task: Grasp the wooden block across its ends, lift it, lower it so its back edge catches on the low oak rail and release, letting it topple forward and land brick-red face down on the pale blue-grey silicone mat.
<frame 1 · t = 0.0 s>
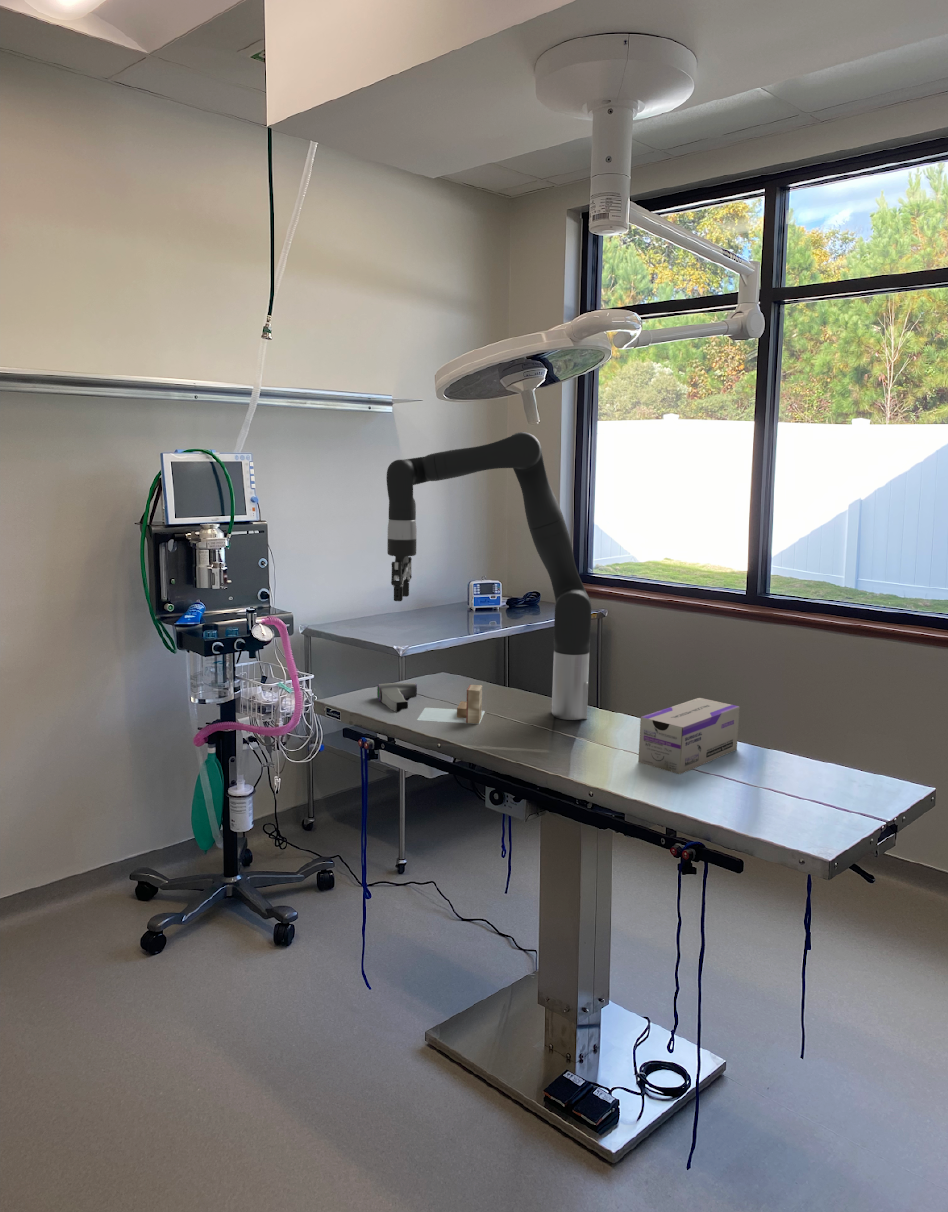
hand: (401, 598, 244), 29 cm above the table, fingers open, 8 cm apart
silicone mat: (451, 717, 239), on the table
surgical sutures box: (688, 757, 213), on the table
wooden block: (473, 720, 235), point 1 cm above the table, touching silicone mat
infrared thermometer: (404, 704, 253), on the table
rail: (463, 716, 241), resting on silicone mat
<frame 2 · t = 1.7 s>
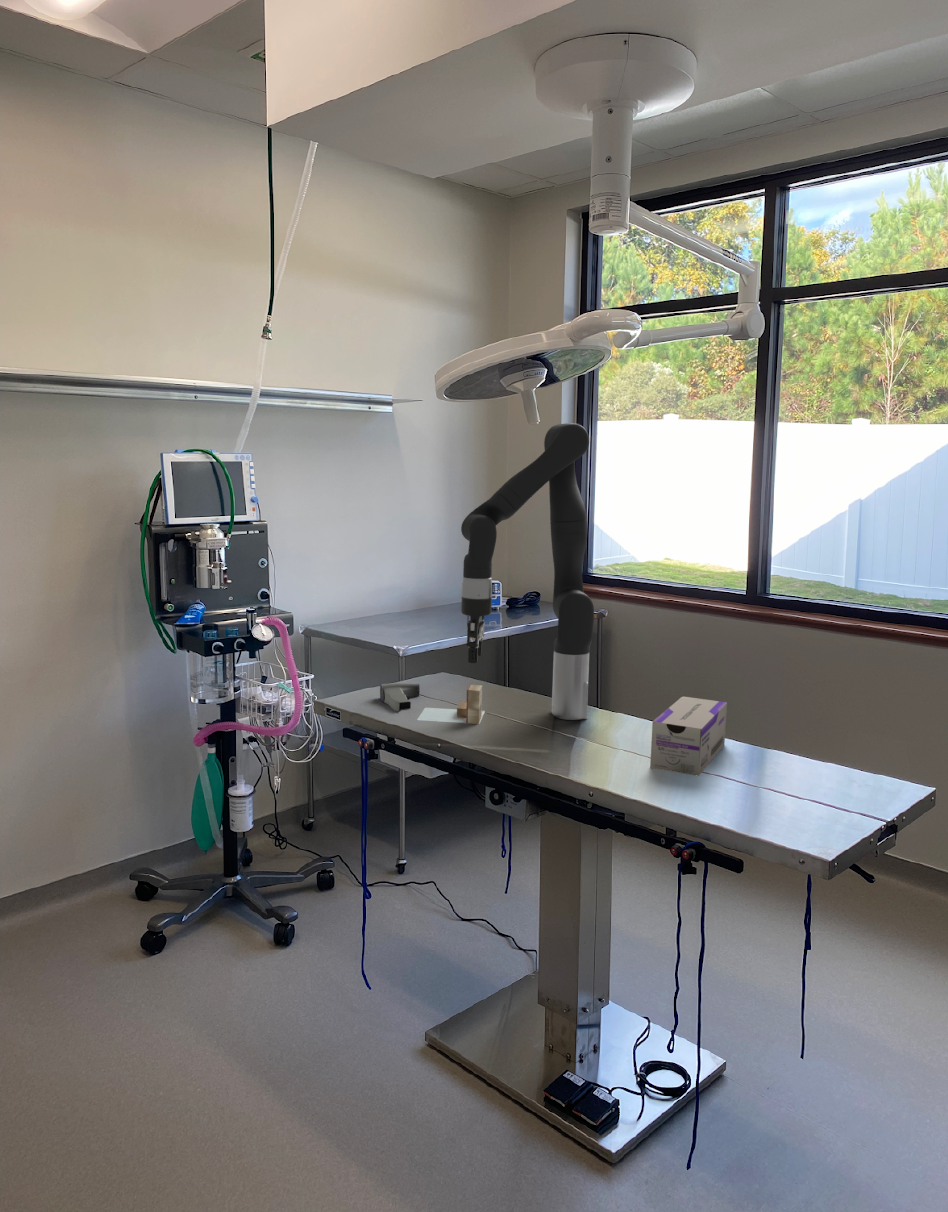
hand: (475, 659, 233), 16 cm above the table, fingers open, 8 cm apart
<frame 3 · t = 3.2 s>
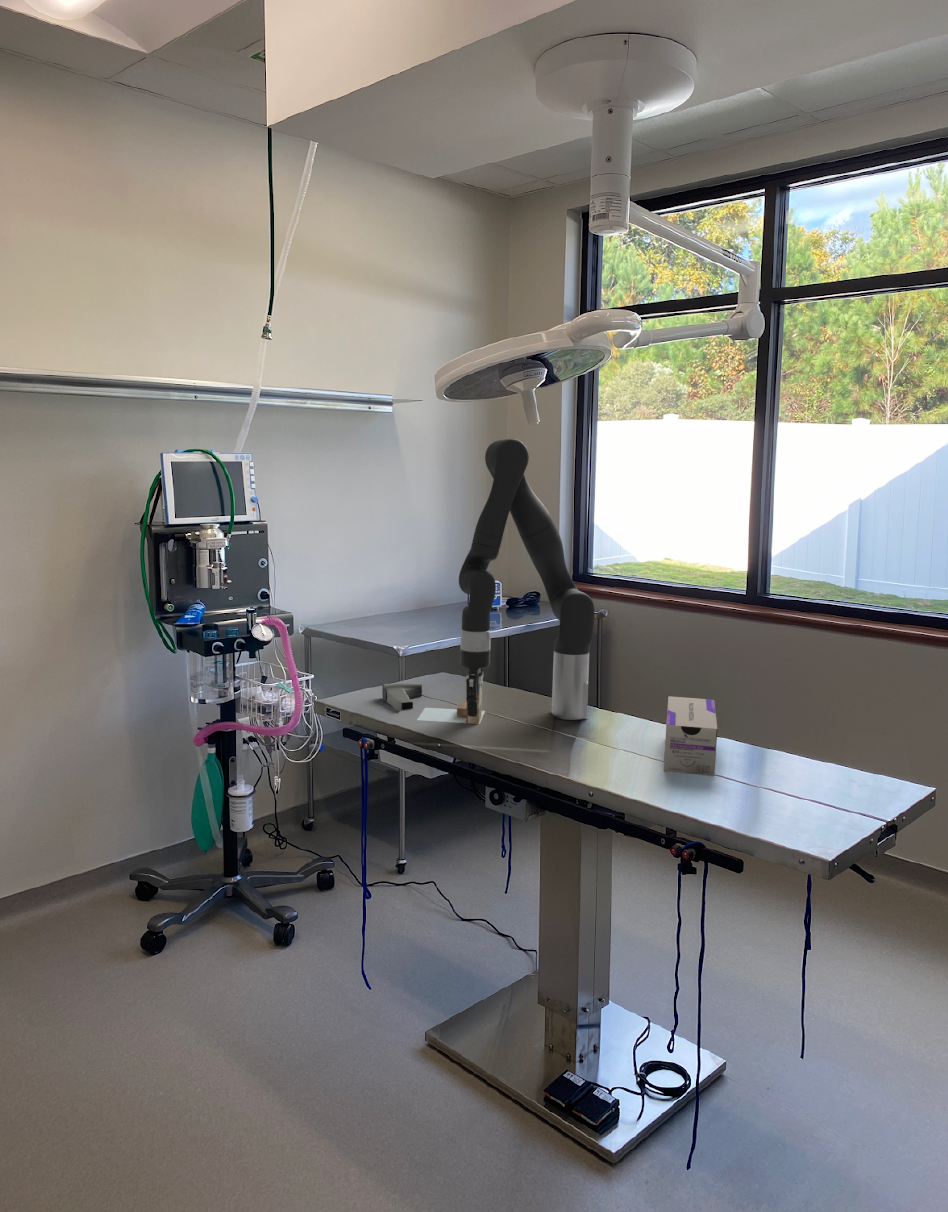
hand: (473, 712, 235), 3 cm above the table, fingers closed on wooden block, 5 cm apart
wooden block: (473, 720, 235), point 1 cm above the table, touching gripper, silicone mat
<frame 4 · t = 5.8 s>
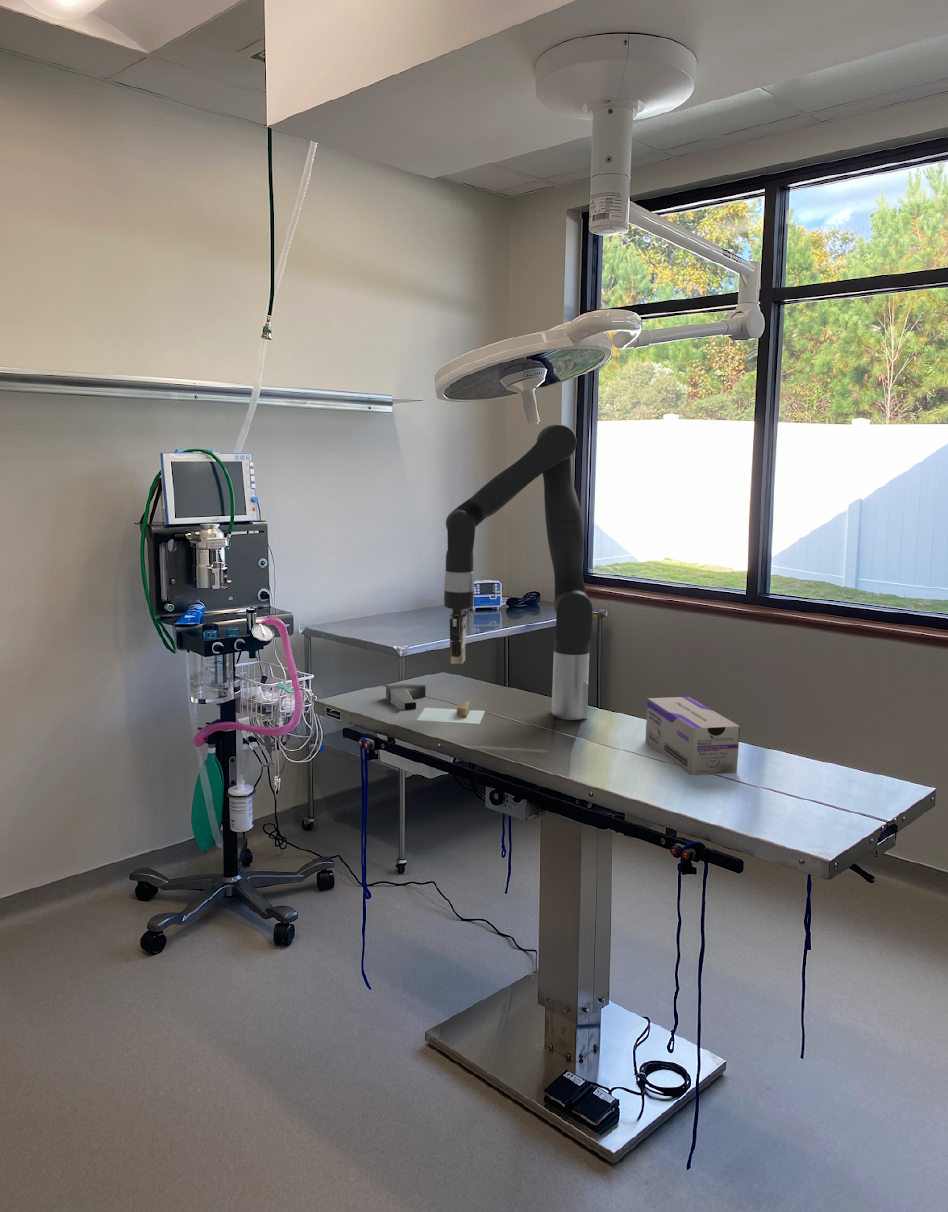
hand: (457, 653, 239), 16 cm above the table, fingers closed on wooden block, 5 cm apart
wooden block: (457, 661, 239), point 14 cm above the table, touching gripper
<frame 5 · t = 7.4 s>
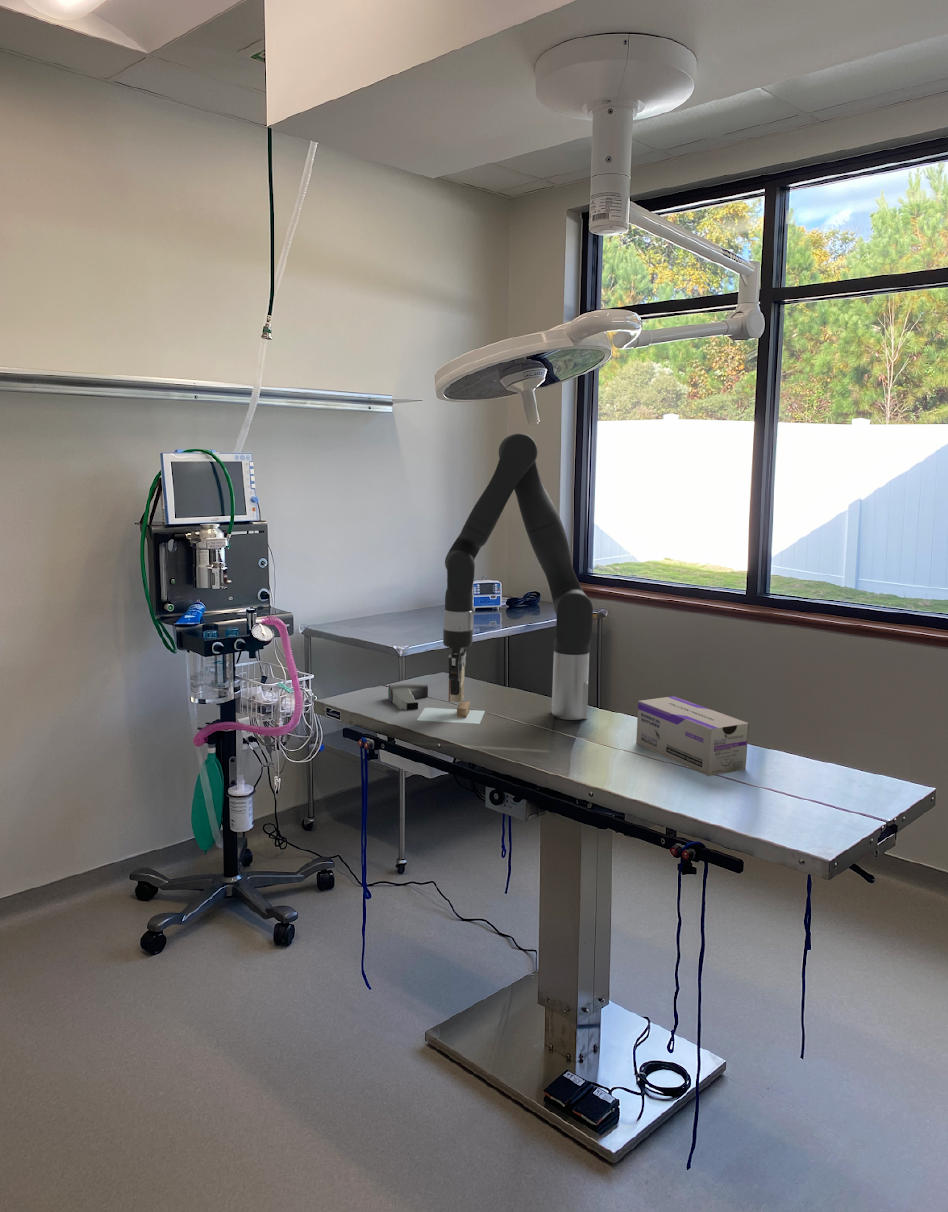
hand: (456, 691, 240), 7 cm above the table, fingers closed on wooden block, 5 cm apart
wooden block: (456, 699, 240), point 4 cm above the table, touching gripper
when the fingers open (6 cm above the table, at t = 8.5 s): wooden block drops 2 cm and tips over, resting on silicone mat.
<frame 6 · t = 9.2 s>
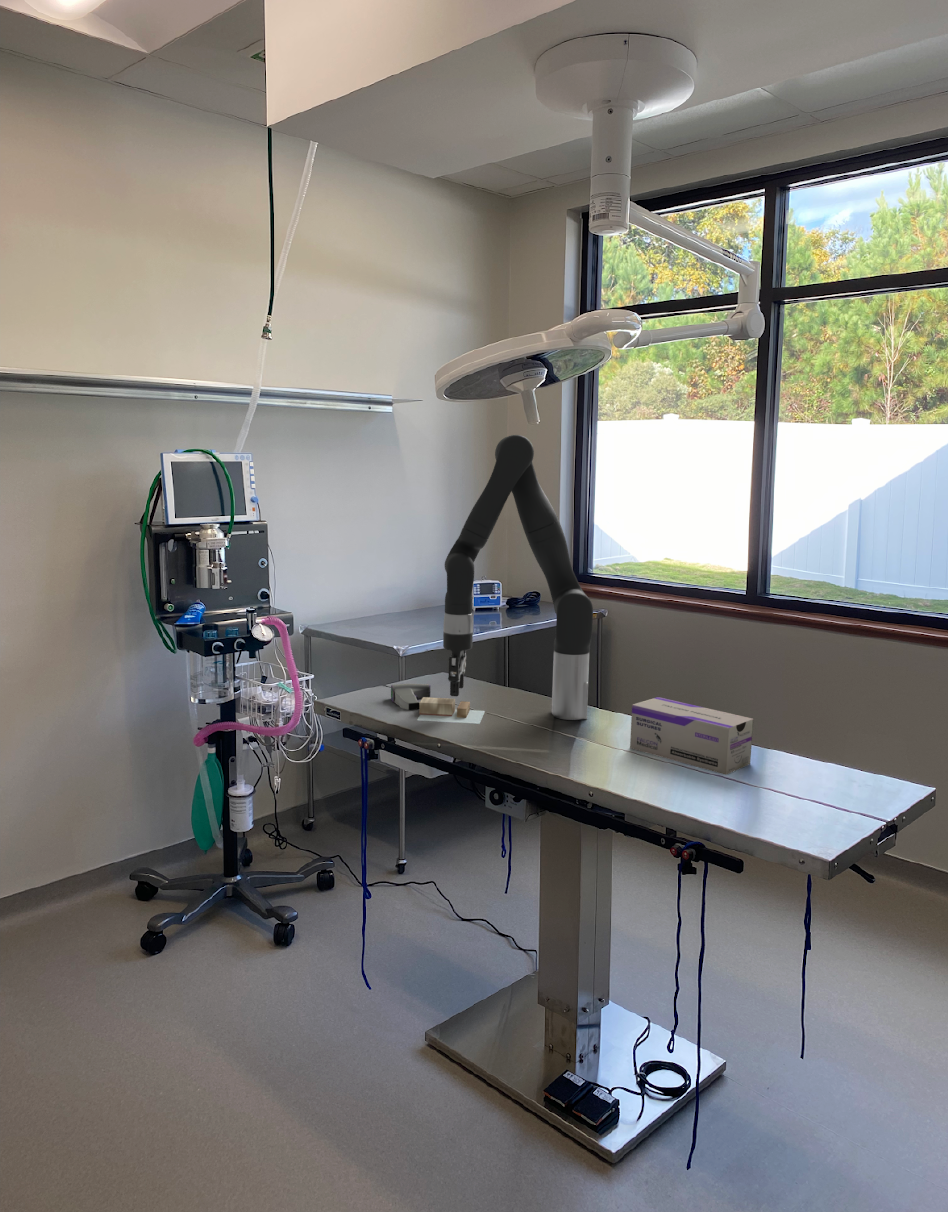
hand: (456, 691, 240), 6 cm above the table, fingers open, 8 cm apart
wooden block: (453, 707, 241), point 2 cm above the table, tilted 90°, touching silicone mat
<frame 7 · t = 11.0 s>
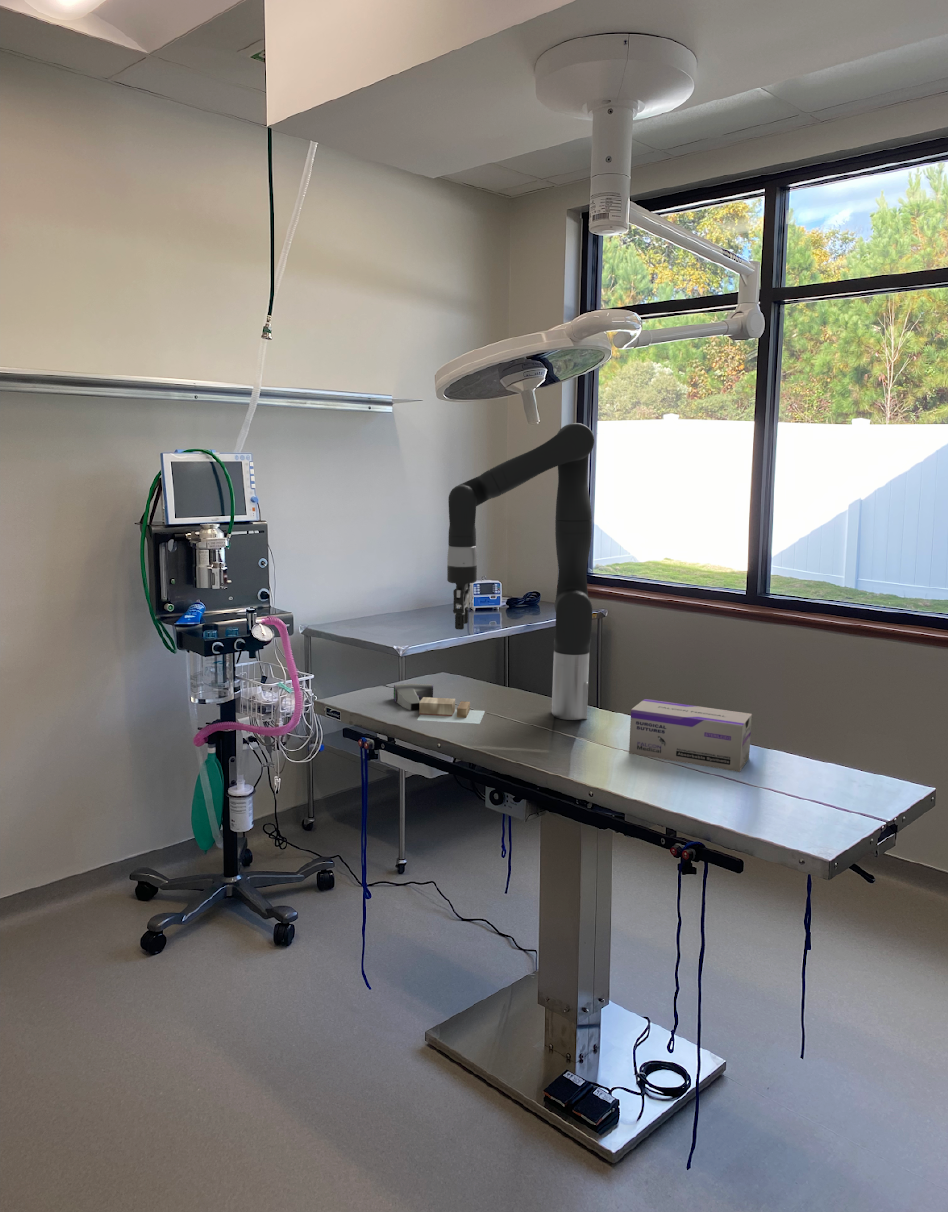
hand: (461, 626, 239), 23 cm above the table, fingers open, 8 cm apart
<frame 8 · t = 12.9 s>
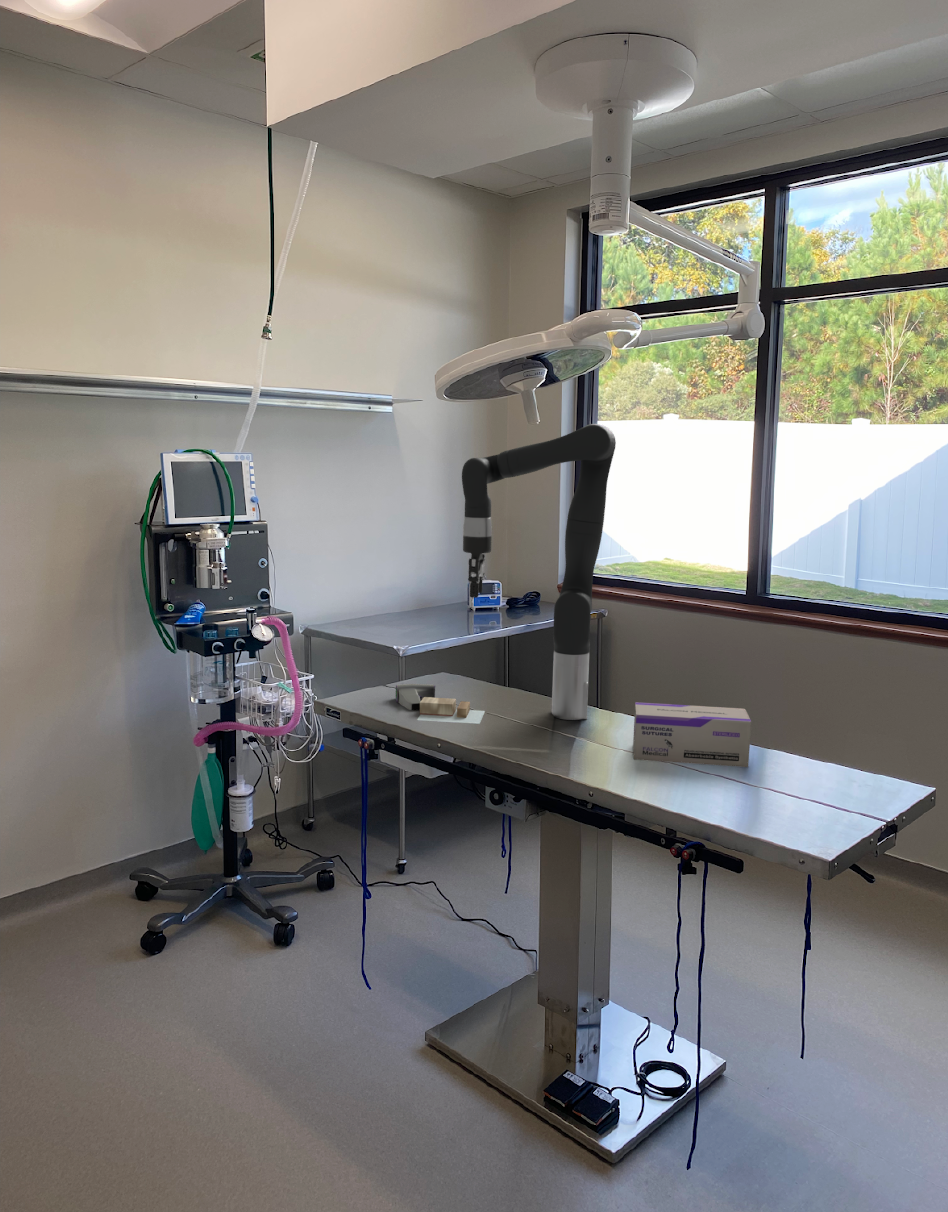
hand: (476, 595, 248), 30 cm above the table, fingers open, 8 cm apart
wooden block: (454, 707, 241), point 2 cm above the table, tilted 90°
at the end: wooden block tilted 90°; wooden block inside the target area (6.0 cm from its centre), point 2.2 cm above the table; the gripper is holding nothing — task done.
